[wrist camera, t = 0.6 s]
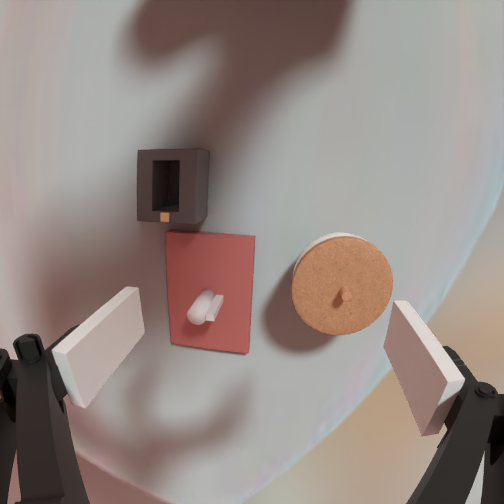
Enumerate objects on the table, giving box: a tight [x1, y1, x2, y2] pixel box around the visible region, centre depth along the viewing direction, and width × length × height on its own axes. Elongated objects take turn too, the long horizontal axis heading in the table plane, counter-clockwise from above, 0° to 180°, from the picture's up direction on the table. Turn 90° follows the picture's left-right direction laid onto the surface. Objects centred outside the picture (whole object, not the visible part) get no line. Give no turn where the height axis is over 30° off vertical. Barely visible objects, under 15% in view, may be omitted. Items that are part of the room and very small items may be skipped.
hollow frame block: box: [137, 149, 209, 224], centre depth 34 cm, size 8×7×5 cm
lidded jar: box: [291, 232, 393, 335], centre depth 33 cm, size 11×11×9 cm
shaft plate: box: [166, 230, 255, 353], centre depth 37 cm, size 16×11×7 cm
